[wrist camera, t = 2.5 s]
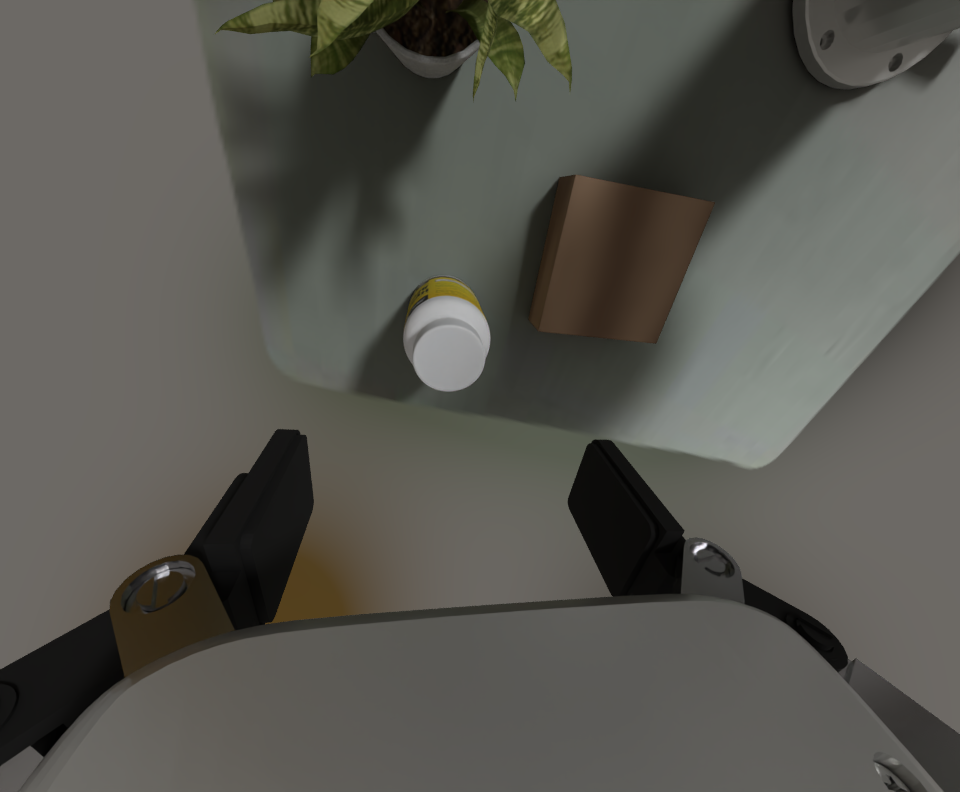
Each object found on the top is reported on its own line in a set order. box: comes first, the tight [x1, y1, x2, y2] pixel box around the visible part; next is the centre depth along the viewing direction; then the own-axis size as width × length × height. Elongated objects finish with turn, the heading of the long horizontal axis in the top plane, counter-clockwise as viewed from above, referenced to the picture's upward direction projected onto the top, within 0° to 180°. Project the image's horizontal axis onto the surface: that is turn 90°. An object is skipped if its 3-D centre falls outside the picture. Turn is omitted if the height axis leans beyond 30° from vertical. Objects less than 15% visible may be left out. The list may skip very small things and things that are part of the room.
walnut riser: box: [528, 175, 715, 344], centre depth 25 cm, size 10×10×3 cm
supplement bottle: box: [403, 276, 490, 392], centre depth 23 cm, size 5×5×10 cm
